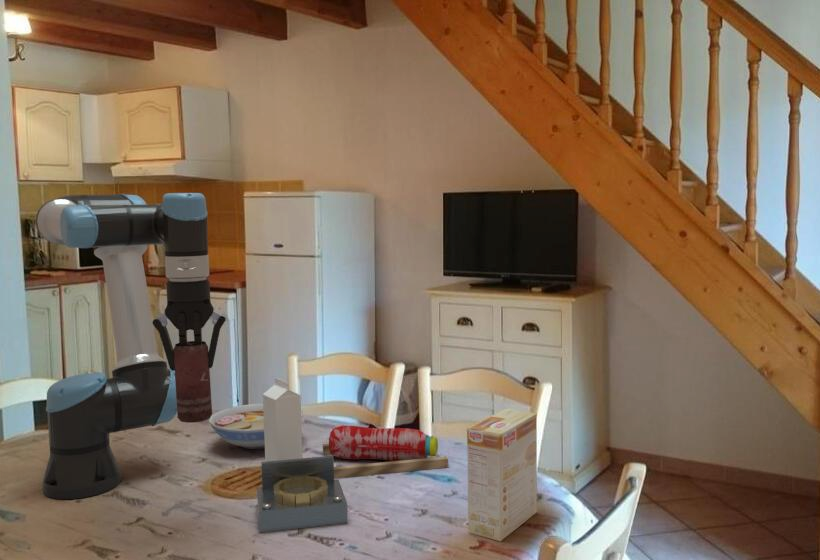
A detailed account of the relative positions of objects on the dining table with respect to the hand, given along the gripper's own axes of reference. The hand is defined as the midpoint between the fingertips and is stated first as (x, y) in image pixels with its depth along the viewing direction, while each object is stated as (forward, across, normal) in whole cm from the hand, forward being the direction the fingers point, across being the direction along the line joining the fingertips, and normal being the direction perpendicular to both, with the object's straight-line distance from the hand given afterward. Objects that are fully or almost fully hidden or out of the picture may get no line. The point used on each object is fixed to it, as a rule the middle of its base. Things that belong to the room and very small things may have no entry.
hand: (193, 406), depth 138 cm
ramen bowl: (+23, +12, +44) cm, 51 cm away
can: (+2, 0, 0) cm, 2 cm away
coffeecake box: (+23, +55, -14) cm, 61 cm away
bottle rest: (+22, +40, +25) cm, 52 cm away
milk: (+23, +17, +18) cm, 33 cm away
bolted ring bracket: (+22, +19, -1) cm, 29 cm away
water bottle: (+23, +41, +26) cm, 54 cm away
